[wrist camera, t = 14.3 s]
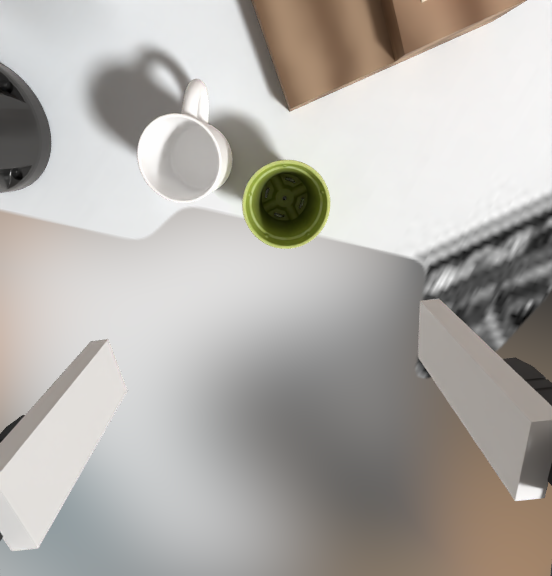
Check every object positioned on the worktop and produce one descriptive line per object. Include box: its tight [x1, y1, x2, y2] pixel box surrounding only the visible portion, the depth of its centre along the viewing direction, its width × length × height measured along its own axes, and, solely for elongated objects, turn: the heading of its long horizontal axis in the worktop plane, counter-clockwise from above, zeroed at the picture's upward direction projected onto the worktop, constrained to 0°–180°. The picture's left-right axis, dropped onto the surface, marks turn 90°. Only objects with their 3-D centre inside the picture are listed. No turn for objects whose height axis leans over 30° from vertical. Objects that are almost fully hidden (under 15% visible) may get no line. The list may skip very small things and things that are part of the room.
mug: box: [137, 79, 233, 203], centre depth 38 cm, size 12×8×10 cm
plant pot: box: [242, 160, 330, 249], centre depth 41 cm, size 9×9×9 cm
